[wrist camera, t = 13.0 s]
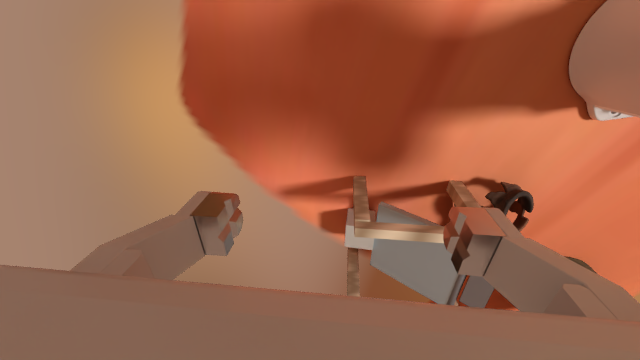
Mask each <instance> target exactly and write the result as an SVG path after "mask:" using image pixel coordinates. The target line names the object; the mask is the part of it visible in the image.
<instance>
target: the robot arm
mask: <svg viewBox="0 0 640 360" xmlns="http://www.w3.org/2000/svg"><path fill="white" fill-rule="evenodd" d="M569 77H570V81H571V84H572V86H573V88H574V89H575V91H576V92H577V93H578V94H579V95H580V96H581V97H582V98H583V99H584V100H585V101H586V103H587V110H588V114H589V116H590V118H592V119H594V120H599V121H605V120H612V119H620V118H627V117H639V118H640V0H607V1H606V2H605V3H604V4H603V5H602V6H601V7H600V8H599V9H598V10H597V11H596V12H595V13H594V14H593V16H592V17H591V18H590V19H589V21H588V22H587V23H586V25H585V26H584V28H583V29H582V31H581V32H580V34H579V36H578V38H577V40H576V42H575V44H574V47H573V50H572V53H571V56H570V61H569ZM611 111H612V112H611ZM239 204H240V200H239V196H238V195H237V194H233V193H220V192H206V191H200V192H197V193H196V194H195V195H194V196H193V197H192V198H191V199H190V200H189V201H188V202H187V203H186V204H185V205H184V206H183V207H182V208H181V209H180V210H179V211H178V212H177V213H176V214H175V215H169V216H167V217H165V218H162V219H160V220H158V221H155V222H153V223H151V224H148V225H146V226H144V227H142V228H139V229H137V230H135V231H132V232H130V233H128V234H125V235H123V236H121V237H118V238H116V239H114V240H112V241H109V242H107V243H104V244H102V245H100V246H99V247H97V248H96V249H95V250H94V251H93V252H91V253H90V254H89V255H88V256H87V257H86V258H84V259H83V260H82V261H81V262H80V263H78V264H77V265H76V266H75V267H74V268H72V269H71V270H70V271H65V270H53V269H43V268H31V267H19V266H9V265H0V360H640V304H639V303H638V302H637V301H636V300H635V299H634V298H633V297H632V296H631V295H630V294H629V293H628V292H627V291H626V290H624V289H623V288H622V287H620V286H619V285H617V284H615V283H613V282H611V281H609V280H607V279H605V278H603V277H602V276H600V275H598V274H596V273H594V272H592V271H590V270H588V269H587V268H585V267H583V266H581V265H579V264H577V263H575V262H573V261H571V260H570V259H568V258H566V257H564V256H562V255H560V254H558V253H556V252H555V251H553V250H551V249H549V248H547V247H545V246H543V245H541V244H539V243H538V242H536V241H534V240H532V239H530V238H524V236H523V235H522V234H521V233H520V232H519V231H518V230H517V228H516V227H515V226H514V225H513V224H512V223H511V221H510V220H509V219H508V218H507V217H506V216H505V215H504V213H503V212H502V211H501V210H500V209H498V208H475V207H452V208H451V209H450V212H449V215H448V216H449V218H450V220H451V221H450V222H449V223H447V224H446V225H445V228H444V231H443V241H444V245H445V247H446V250H447V251H449V252H450V253H451V254H452V257H451V261H452V263H453V265H454V267H455V270H456V272H457V274H461V275H470V276H480V277H484V279H485V280H486V281H487V282H488V283H489V284H491V285H492V286H493V287H494V288H495V289H496V290H497V291H498V292H499V293H501V294H502V295H503V296H504V297H505V298H506V299H507V300H508V301H509V302H511V303H512V304H513V305H514V306H515V307H516V308H517V309H518V310H519V311H512V310H500V309H488V308H477V307H465V306H455V305H444V304H433V303H422V302H410V301H400V300H388V299H377V298H366V297H356V296H343V295H332V294H322V293H309V292H299V291H288V290H277V289H265V288H254V287H243V286H232V285H221V284H209V283H198V282H186V281H176V280H173V279H175V278H176V277H177V276H179V275H180V274H181V273H183V272H184V271H185V270H187V269H188V268H189V267H191V266H192V265H193V264H195V263H196V262H197V261H199V260H200V259H201V258H203V257H204V256H205V255H220V256H227V255H228V253H229V251H230V249H231V247H232V246H233V244H234V241H233V238H234V237H236V236H238V235H239V233H240V231H241V228H242V223H243V216H242V212H241V211H240V210H239V209H238V208H237V207H238V206H239Z"/></svg>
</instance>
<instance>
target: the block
mask: <svg viewBox="0 0 640 360" xmlns="http://www.w3.org/2000/svg"><path fill="white" fill-rule="evenodd" d="M369 214H370V222H376V218H375V211H371V210H369ZM373 244H374V238H363V237H354V209H353V208H348V214H347V221H346V232H345V247H351V248H359V249H367V250H373Z"/></svg>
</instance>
